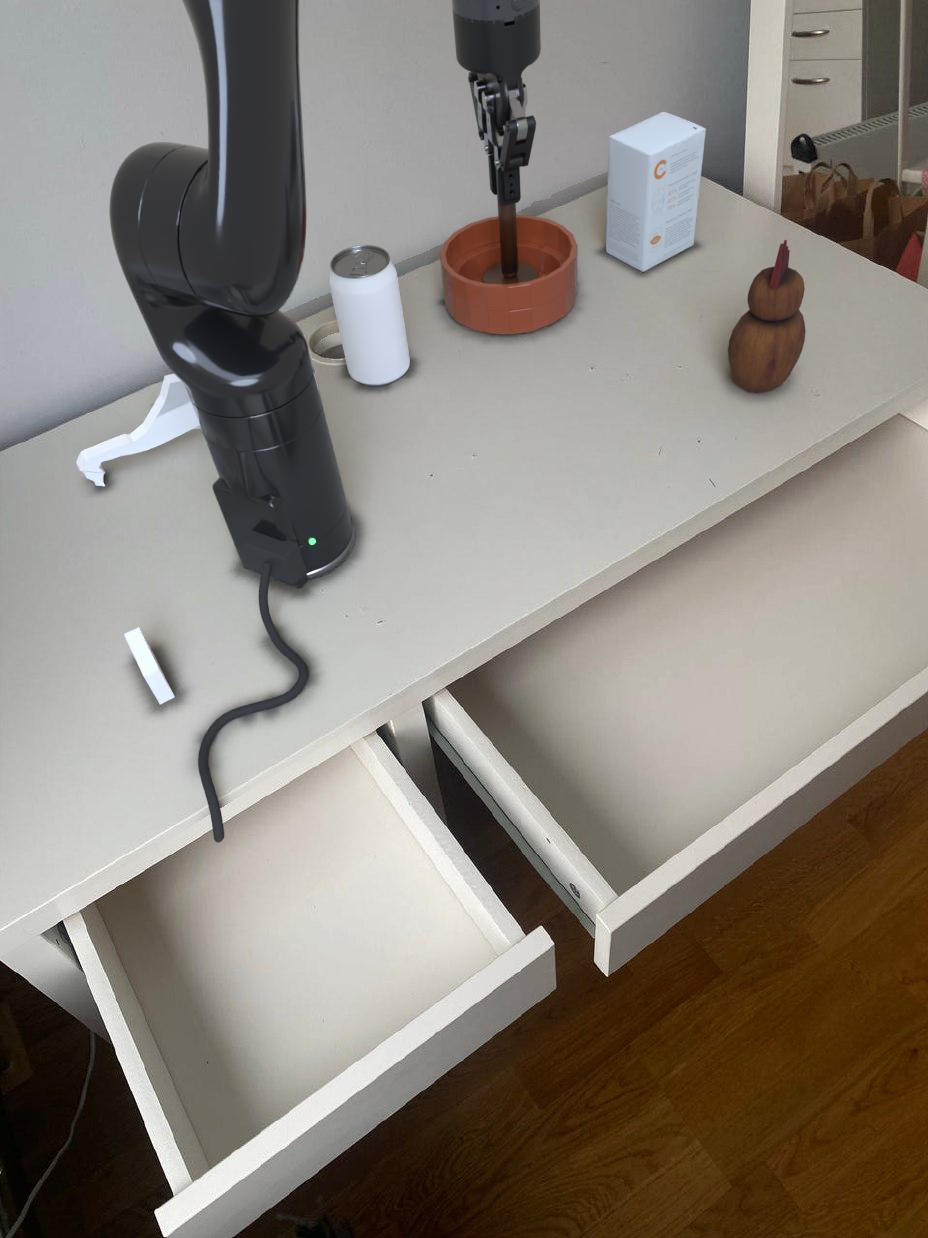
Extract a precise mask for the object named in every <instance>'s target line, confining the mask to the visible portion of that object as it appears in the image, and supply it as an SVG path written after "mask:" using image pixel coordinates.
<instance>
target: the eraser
mask: <svg viewBox="0 0 928 1238" xmlns="http://www.w3.org/2000/svg"><path fill="white" fill-rule="evenodd" d="M123 636H124V638H125V640H126V643H127V644H128V646H129V649H130V650H131V653H132V655H133V657H134V659H135V662H136V663H137V665H138V668H139V669H140V672H141V674H142V676H143V678H144V680H145V681H146V683H147V685H148V686H149V688H150V690H151V692H152V693H153V695H154V696H155V698H156V700H157V702H158V703H159V705H163V704H164V703H167V702H168V701H170V700H173V699H174V698H176V696H175V694H174V692H173V690H172V688H171V686H170V684H169V682H168V680H167V678H166V676H165V674H164V672H163V670H162V667H161V666H160V663H159V661H158V659H157V658H156V655H155V654H154V652H153V650H152V648H151V646H150V644H149V642H148V641H147V639H146V637H145V636H144V634H143V632H142V630H141V628H140V627H136V628H134V629H132V630H130V631H128V632H125V633H124V634H123Z"/></svg>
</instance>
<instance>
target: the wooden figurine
mask: <svg viewBox="0 0 928 1238" xmlns="http://www.w3.org/2000/svg"><path fill="white" fill-rule="evenodd" d="M790 251H791V250H790V249H789V246H788V240H787V239H784V240H783V243H780V244H779V248H778V251H777V256H776V258H775V259H776V260H775V263H774V266H769V267H766V268H763V269H762V270H760V271H759V272H758V273H757V274H756V276H755V277H754V278H753V280H752V282H751V284H750V286H749V289H748V294H747V300H746V302H747V306H748V310H747V311H746V312H745V313H744V314H742V316H740V318H739V320H738V321H737V322H736V324H735V326H734V327H733V329H732V331H731V334H730V337H729V339H728V345H727V359H728V363H729V368H730V372H731V375H732V378H733V381H734V382H735V383H736V384H737V385H738V386H739V387H740V388H742V389H743V390H745V391H747V392H750V393H754V394H755V393H756V394H757V393H759V394H760V393H767V392H770V391H771V392H772V391H773V390H776V389H777V388H779V387H780V386H782V385H783V384H784V383H785V382H786V381H787V380H788V378H789V377H790V375H791V373H792V372H793V370H794V368H795V367H796V364H797V363H798V361H799V358H800V356H801V355H802V352H803V349H804V345H805V342H806V341H805V340H806V332H807V331H806V323H805V319H804V315H803V313H802V312H801V310H800V308H801V306H802V302H803V299H804V297H805V296H804V295H805V281H804V278H803V276H802V275H801V274H800V273H799V272H798V271H797V270H796V269H793V268H791V267H790V265H789V264H790V263H789V262H790Z"/></svg>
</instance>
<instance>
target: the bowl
mask: <svg viewBox="0 0 928 1238" xmlns="http://www.w3.org/2000/svg"><path fill="white" fill-rule="evenodd" d="M516 223H517V247H518V261H522V262H526V263H529V264H531V265H533V266H534V267H535V268H536V269H537V271H538V278H537V279H535V280H532V281H529V282H522V283H515V284H486V283H483V282H482V276H483V273H484V272H485V270H486V269H488V268H489V267H490V266H492V265H494V264H497V263H500V262H501V253H500V236H499V218H498V216H490V217H486V218H483V219H480V220H476V221H474V222H471V223H468V224H467V225H464V226H462V227H461V228H458V229H457V230H456V231H453V233H452V234H451V235H450V236H449V237H448V238H446V240H445V241H444V242H443V245H442V246H441V250H440V252H439V259H440V260H439V261H440V269H441V277H442V278H441V279H442V288H443V296H444V303H445V308H446V311H447V312H448V313H449V314H450V316H451V318H453V319H454V320H455V321H456V322H458V323H459V324H461V325H463V326H464V327H466V328H468V329H471V330H474V331H477V332H478V331H479V332H483V333H486V334H495V335H496V334H497V335H498V334H499V335H514V334H522V333H529V332H533V331H536V330H538V329H539V330H540V329H542V328H544V327H547V326H550V325H552V324H554V323H555V322H557V321H558V320H561V318H564V317H565V316H566V315H567V314H568V313H569V311H570V310H571V309H572V307H573V306H574V305H575V304H576V300H577V294H578V249H579V248H578V243H577V241H576V237H575V235H574V234H573V232H571V231H570V230H569V229H568V228H566V227H565V226H564V225H563V224H561V223H558V222H556V221H554V220H551V219H549V218H547V217H546V218H545V217H540V216H534V215H528V214H516Z"/></svg>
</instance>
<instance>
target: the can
mask: <svg viewBox="0 0 928 1238" xmlns="http://www.w3.org/2000/svg"><path fill="white" fill-rule="evenodd" d="M329 267H330V273H329V278H328V282H329V288H330V289H329V290H330V295H331V299H332V303H333V308H334V312H335V313H334V314H335V317H336V321H337V327H338V331H339V336H340V340H341V346H342V350H343V354H344V359H345V363H346V368H347V372H348V374H349V376H350V377H351V378H352V379H353V380H355V382H357V383H359V384H361V385H364V386H369V387H380V386H385V385H386V386H387V385H390V384H392V383H394V382H397V381H398V380H400V379H401V378H402V377H403V376H404V375H405V374H406V372H407V371H408V370H409V368H410V365H411V357H410V352H409V344H408V343H409V342H408V336H407V331H406V330H407V329H406V324H405V317H404V309H403V305H402V304H403V303H402V298H401V292H400V285H399V278H398V272H397V269H396V267H395V265H394V264H393V262H392V261H391V256H390V254H389V252H388V251H387V250H386V249H385V248H382V247H381V246H377V245H372V244H370V245H369V244H361V245H355V246H354V245H353V246H351V247H347V248H345V249H342V250H341V251H339V252H337V253H336V254H335V255H334V256H333V257H332V258H331V260H330V263H329Z"/></svg>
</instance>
